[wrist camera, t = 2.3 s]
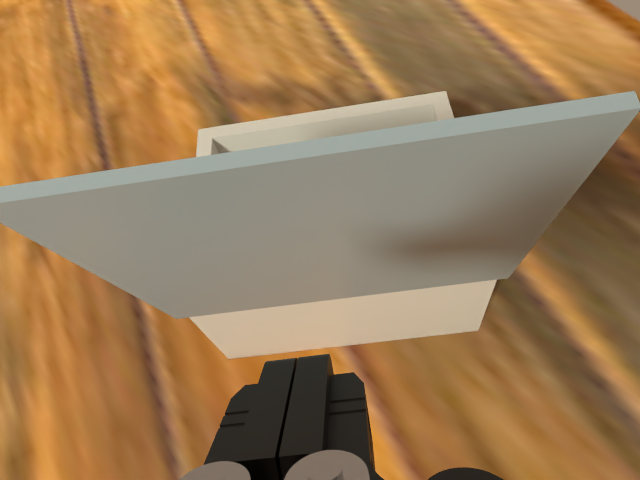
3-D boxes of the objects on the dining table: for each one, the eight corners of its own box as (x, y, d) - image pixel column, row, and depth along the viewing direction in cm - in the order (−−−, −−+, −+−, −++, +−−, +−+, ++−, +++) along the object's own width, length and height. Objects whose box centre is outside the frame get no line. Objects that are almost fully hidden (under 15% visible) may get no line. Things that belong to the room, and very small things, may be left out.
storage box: (437, 172, 46) (445, 91, 38) (478, 330, 38) (500, 270, 29) (234, 201, 48) (198, 129, 39) (228, 359, 39) (181, 309, 31)
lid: (634, 90, 14) (641, 108, 14) (505, 268, 29) (508, 278, 29) (-26, 190, 16) (-29, 207, 15) (176, 309, 31) (176, 318, 31)
